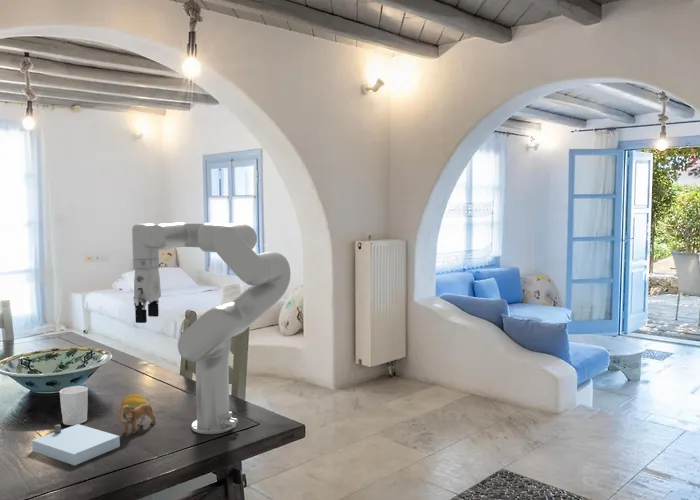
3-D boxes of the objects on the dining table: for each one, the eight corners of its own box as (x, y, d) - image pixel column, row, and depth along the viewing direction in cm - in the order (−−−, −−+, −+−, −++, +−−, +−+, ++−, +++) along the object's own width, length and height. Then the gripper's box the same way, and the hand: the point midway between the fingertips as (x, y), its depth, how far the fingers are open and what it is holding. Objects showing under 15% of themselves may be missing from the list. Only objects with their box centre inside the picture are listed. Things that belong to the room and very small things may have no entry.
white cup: (94, 419, 191) (93, 387, 190) (73, 427, 184) (72, 395, 183) (76, 415, 195) (75, 384, 194) (55, 423, 188) (53, 391, 187)
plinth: (119, 446, 170) (119, 429, 170) (74, 465, 158) (73, 446, 158) (78, 434, 179) (77, 417, 179) (32, 451, 167) (31, 433, 167)
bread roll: (119, 413, 197) (119, 401, 196) (122, 404, 205) (121, 392, 205) (146, 411, 199) (146, 399, 199) (148, 402, 208) (148, 390, 207)
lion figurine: (129, 439, 175) (128, 408, 175) (114, 437, 177) (112, 406, 176) (160, 421, 189) (159, 392, 189) (145, 419, 191) (144, 391, 190)
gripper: (147, 267, 180) (148, 325, 181) (168, 261, 197) (169, 314, 198) (122, 267, 180) (123, 325, 182) (145, 261, 197) (146, 313, 199)
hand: (147, 319), depth 190 cm, fingers open, 9 cm apart
